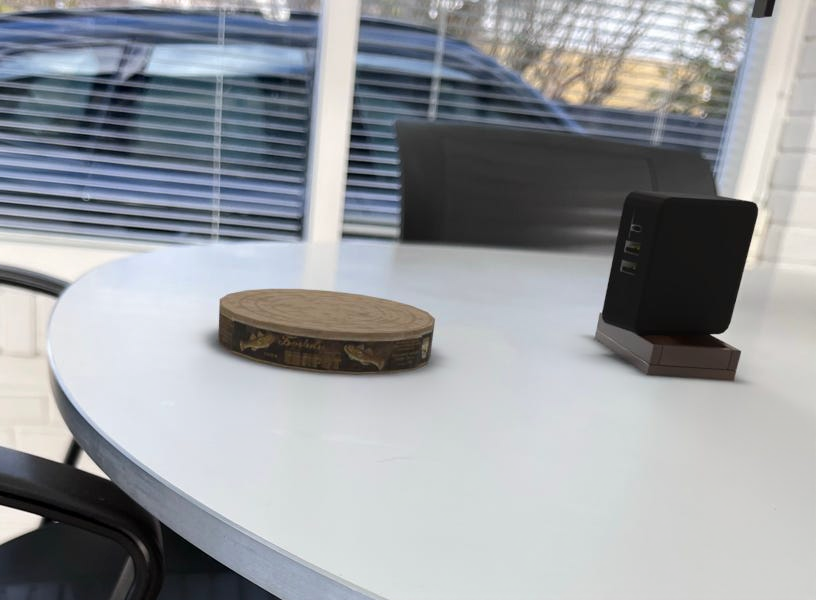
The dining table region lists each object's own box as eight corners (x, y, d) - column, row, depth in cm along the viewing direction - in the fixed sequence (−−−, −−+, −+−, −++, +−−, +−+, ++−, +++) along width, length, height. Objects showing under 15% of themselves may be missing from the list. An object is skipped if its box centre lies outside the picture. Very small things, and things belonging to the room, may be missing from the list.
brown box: (670, 346, 93) (677, 316, 92) (733, 383, 81) (742, 350, 80) (593, 340, 92) (599, 311, 91) (646, 377, 80) (653, 344, 79)
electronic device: (598, 324, 85) (625, 189, 80) (692, 323, 89) (722, 195, 85) (633, 335, 82) (663, 196, 77) (728, 334, 86) (762, 202, 81)
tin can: (180, 353, 74) (181, 309, 73) (265, 318, 88) (267, 280, 87) (397, 389, 70) (402, 344, 69) (451, 347, 84) (456, 308, 83)
